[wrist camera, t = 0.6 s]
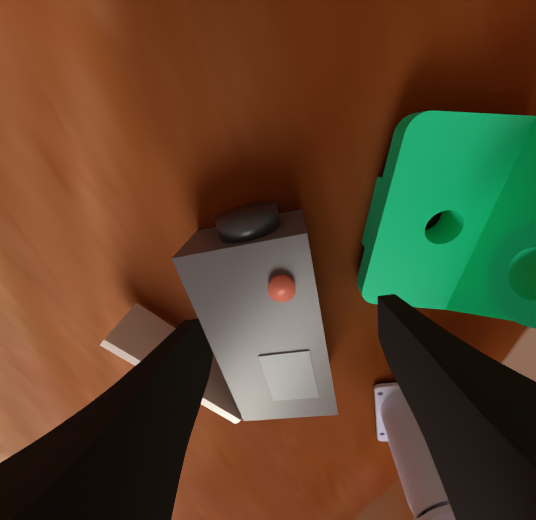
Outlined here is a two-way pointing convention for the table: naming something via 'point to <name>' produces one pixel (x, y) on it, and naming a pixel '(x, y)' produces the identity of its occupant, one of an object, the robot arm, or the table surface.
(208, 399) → the side door
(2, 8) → the table surface
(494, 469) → the robot arm
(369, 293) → the camera mount
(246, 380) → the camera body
